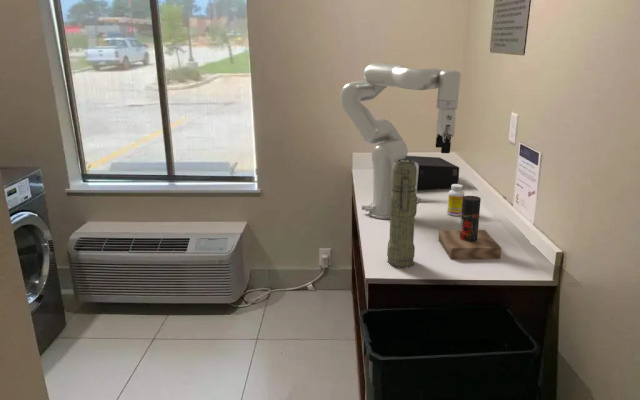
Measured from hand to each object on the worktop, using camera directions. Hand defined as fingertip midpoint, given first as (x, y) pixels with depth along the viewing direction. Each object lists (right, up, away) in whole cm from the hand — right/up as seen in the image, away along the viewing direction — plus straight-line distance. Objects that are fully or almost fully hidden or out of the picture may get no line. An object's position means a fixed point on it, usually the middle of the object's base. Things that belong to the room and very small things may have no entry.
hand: (442, 150), depth 186 cm
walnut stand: (+6, -36, -11) cm, 39 cm away
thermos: (-20, -40, -22) cm, 50 cm away
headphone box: (+5, -11, +74) cm, 75 cm away
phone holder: (-8, -19, +47) cm, 51 cm away
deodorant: (+6, -33, -12) cm, 36 cm away
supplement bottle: (+12, -25, +26) cm, 38 cm away
